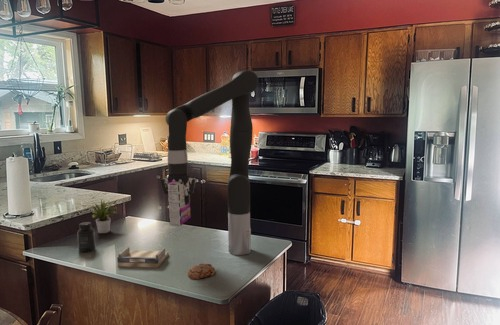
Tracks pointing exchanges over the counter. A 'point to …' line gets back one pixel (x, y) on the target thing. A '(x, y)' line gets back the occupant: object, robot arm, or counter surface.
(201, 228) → the counter surface
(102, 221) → the house plant
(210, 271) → the cookie
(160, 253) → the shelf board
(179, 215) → the candy bar box
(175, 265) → the counter surface
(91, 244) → the supplement bottle
